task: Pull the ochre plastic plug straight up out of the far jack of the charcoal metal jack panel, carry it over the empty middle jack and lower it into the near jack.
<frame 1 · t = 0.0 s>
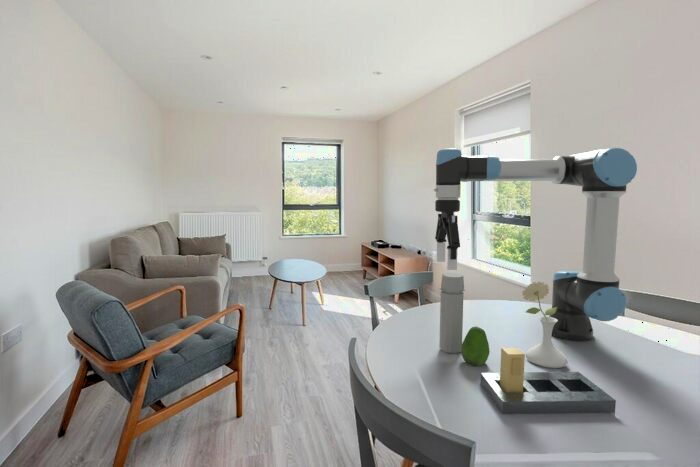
hand: (446, 265, 123), 28 cm above the table, tool pointing down, fingers open, 13 cm apart
flower in vase: (542, 363, 115), on the table
plug: (510, 397, 94), point 1 cm above the table, touching jack panel
avocado: (474, 365, 114), on the table
jack panel: (542, 401, 94), on the table
water bottle: (450, 349, 126), on the table
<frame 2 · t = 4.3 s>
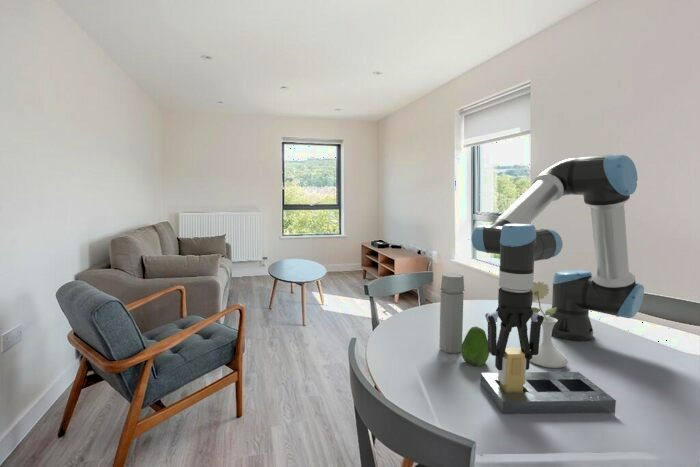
hand: (511, 381, 94), 5 cm above the table, tool pointing down, fingers closed on plug, 4 cm apart
plug: (510, 397, 94), point 1 cm above the table, touching gripper, jack panel
everything else where it was.
when the fingers open (7 cm above the table, at t = 8.7 s): plug drops 2 cm, resting on jack panel.
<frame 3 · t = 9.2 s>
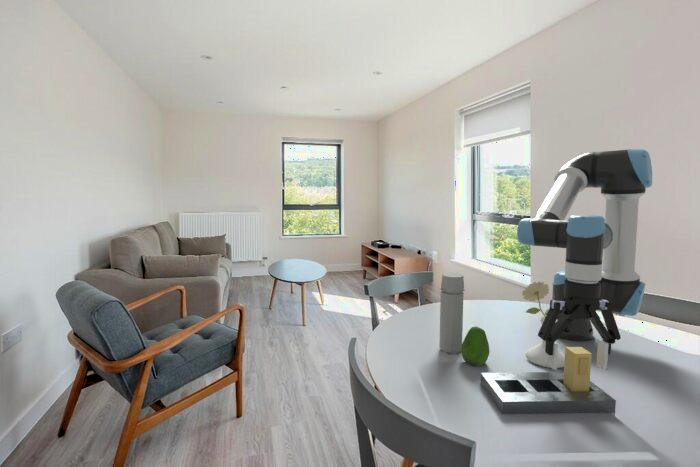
hand: (576, 367, 94), 9 cm above the table, tool pointing down, fingers open, 11 cm apart
plug: (575, 396, 94), point 1 cm above the table, touching jack panel
everything else where it was.
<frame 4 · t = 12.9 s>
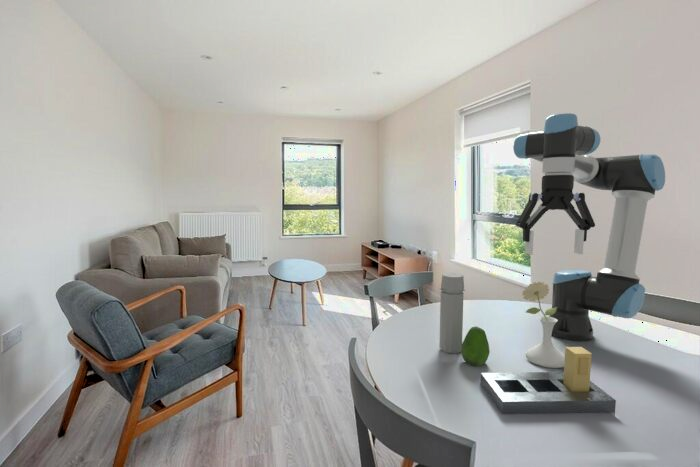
hand: (553, 253, 104), 35 cm above the table, tool pointing down, fingers open, 13 cm apart
nothing on the table moved.
at the end: plug 0.1 cm from the target spot on the jack panel, point 1.0 cm above the jack panel's base; plug tilted 0°; the gripper is holding nothing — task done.
